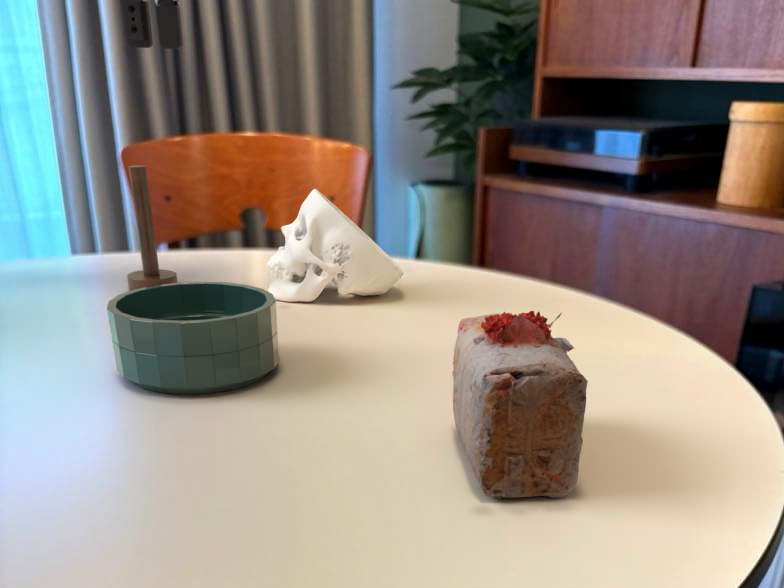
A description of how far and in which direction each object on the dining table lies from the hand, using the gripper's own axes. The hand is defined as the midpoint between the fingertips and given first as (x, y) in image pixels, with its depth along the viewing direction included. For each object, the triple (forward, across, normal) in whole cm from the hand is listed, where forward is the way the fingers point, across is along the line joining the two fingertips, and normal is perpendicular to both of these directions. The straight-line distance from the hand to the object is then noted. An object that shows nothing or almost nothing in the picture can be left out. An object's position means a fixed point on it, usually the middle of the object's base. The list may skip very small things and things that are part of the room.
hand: (156, 48), depth 82 cm
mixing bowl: (+24, +26, +10) cm, 37 cm away
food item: (+24, +40, +37) cm, 60 cm away
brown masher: (+24, -2, -5) cm, 25 cm away
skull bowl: (+24, -2, +17) cm, 30 cm away
